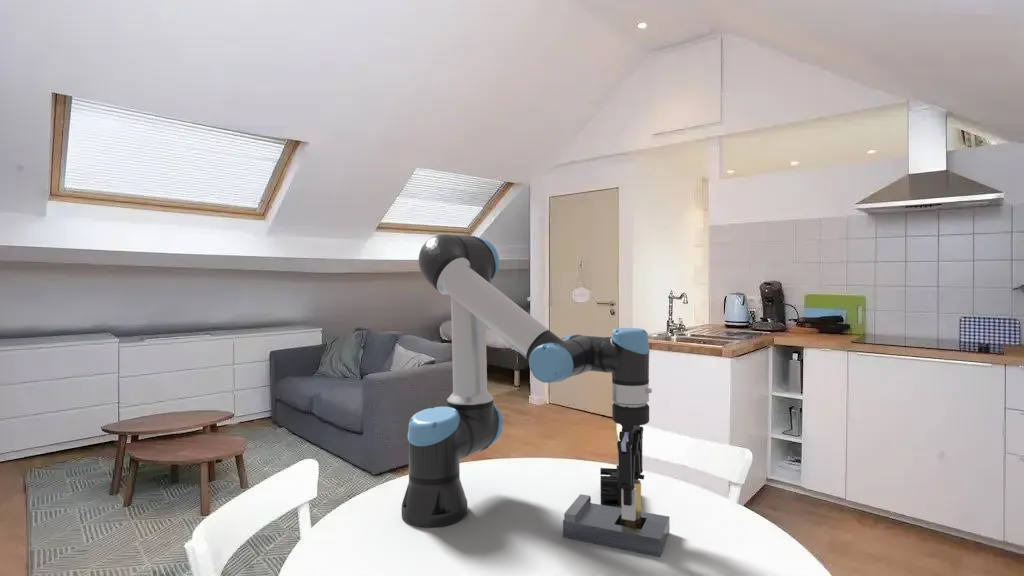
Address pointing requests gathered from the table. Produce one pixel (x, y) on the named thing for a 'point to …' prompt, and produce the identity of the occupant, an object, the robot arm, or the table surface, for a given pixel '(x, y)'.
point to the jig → (614, 527)
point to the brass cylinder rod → (638, 509)
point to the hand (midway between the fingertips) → (631, 514)
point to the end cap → (610, 487)
